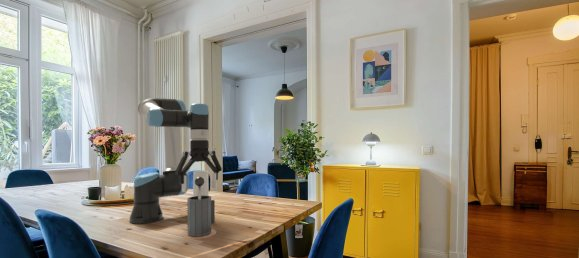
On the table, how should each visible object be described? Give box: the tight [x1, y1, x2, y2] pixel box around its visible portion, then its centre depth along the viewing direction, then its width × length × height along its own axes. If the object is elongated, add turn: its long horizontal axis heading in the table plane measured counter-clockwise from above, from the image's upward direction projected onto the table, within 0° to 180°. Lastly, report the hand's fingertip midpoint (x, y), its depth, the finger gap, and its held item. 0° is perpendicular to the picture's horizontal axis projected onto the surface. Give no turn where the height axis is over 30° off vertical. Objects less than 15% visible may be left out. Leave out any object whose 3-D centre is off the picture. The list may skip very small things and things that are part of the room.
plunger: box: [195, 177, 204, 200], centre depth 121 cm, size 6×6×19 cm
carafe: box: [186, 195, 216, 237], centre depth 121 cm, size 10×12×15 cm
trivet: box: [181, 228, 218, 240], centre depth 120 cm, size 14×14×1 cm
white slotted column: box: [192, 170, 209, 197], centre depth 139 cm, size 7×7×25 cm
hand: (199, 189), depth 121 cm, fingers open, 13 cm apart
